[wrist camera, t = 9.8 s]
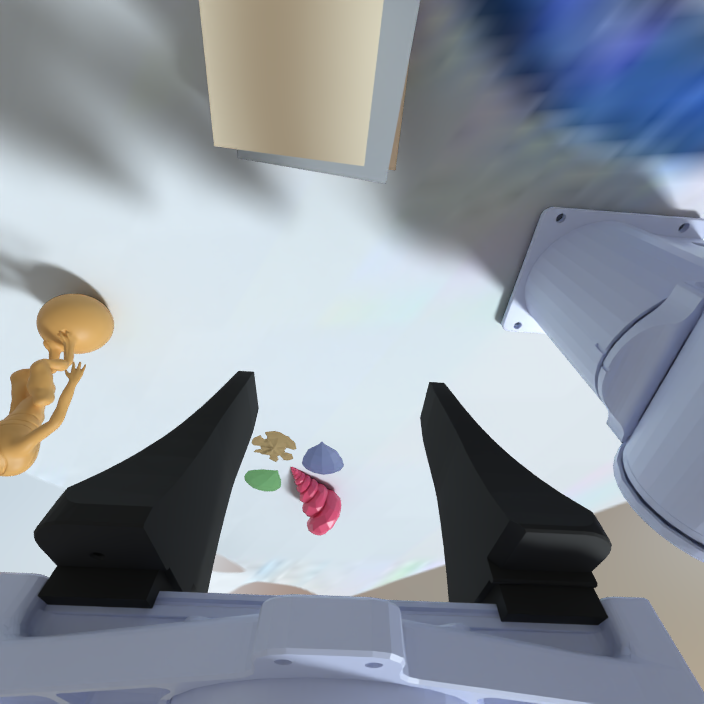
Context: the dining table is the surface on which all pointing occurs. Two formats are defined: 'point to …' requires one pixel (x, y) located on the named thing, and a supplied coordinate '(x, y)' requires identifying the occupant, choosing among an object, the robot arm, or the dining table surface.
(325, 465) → the toy pieces
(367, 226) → the dining table surface
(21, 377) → the figurine
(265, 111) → the birch block
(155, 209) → the dining table surface
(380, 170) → the slate grey block
